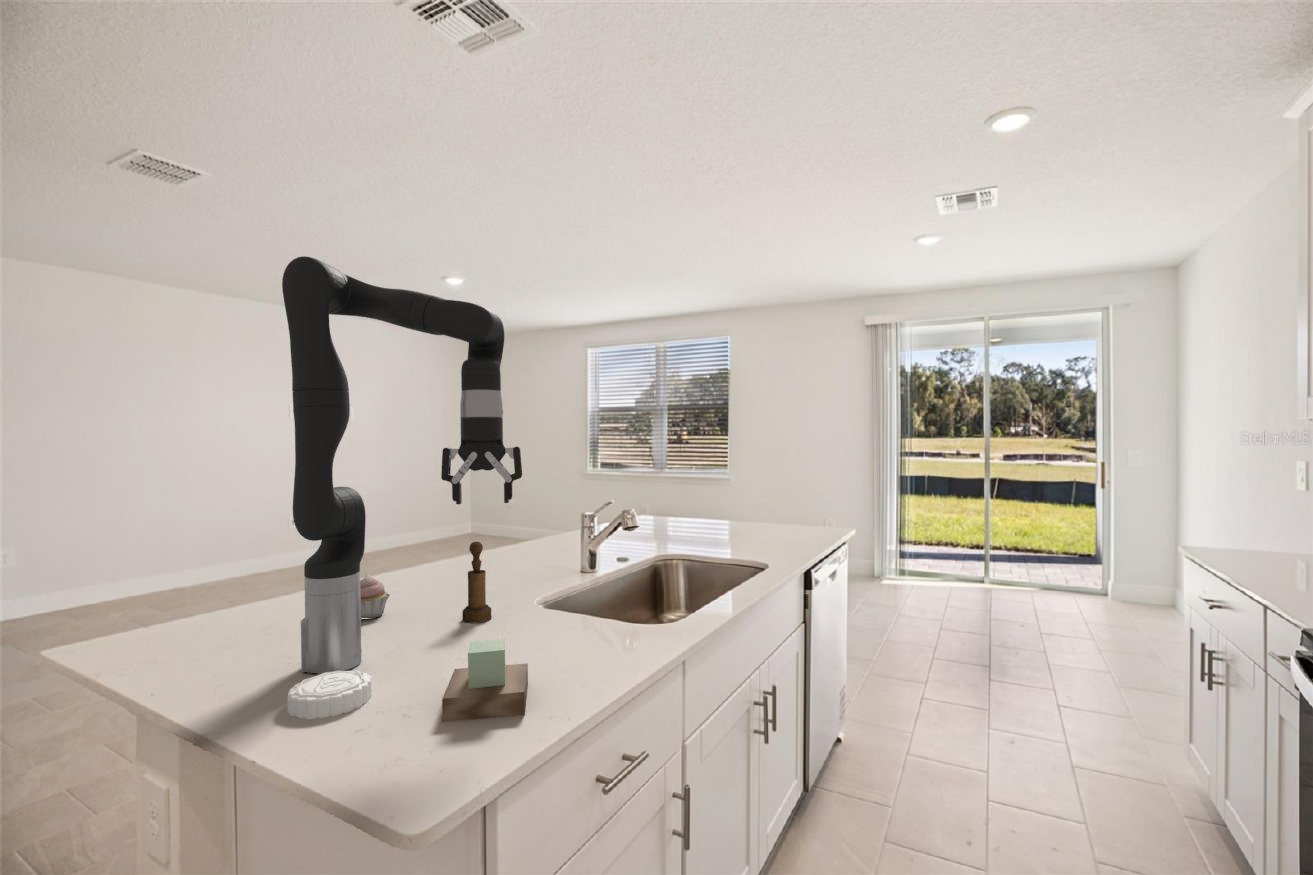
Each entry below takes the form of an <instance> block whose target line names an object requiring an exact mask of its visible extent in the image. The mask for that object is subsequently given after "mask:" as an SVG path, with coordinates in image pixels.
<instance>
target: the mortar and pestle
mask: <svg viewBox="0 0 1313 875" xmlns="http://www.w3.org/2000/svg"><path fill="white" fill-rule="evenodd" d="M483 547H484V546H483V544H482V543H481V542H480V541H473V542H471V543H470V544H469V548H468V549H469V552H470V554H471V555H472V561H471V563H470V564H471V566H472V569H473V570H472V569H471V570H469V571H467V598H468V599H467V605H466V606H465V607H464V609H463V610H462V613H461V614H462V616H461V617H462V618H461V619H462V622H465V623H469V624H473V623H474V624H476V623H477V624H478V623H479V624H480V623H483V622H487V621H488V622H489V621H490V620H492V617H493V616H492V607H491V606H489V605H488V604H487V602H486V600H487V598H486V593H487V592H486V591H487V590H486V577H487V576H486V570H484V569H481V567H482V562H483V561H482V560H481V559H480V557H481V556H480V555H481V554H482V553H483V549H484V548H483Z"/></svg>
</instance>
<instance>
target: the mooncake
mask: <svg viewBox="0 0 1313 875" xmlns="http://www.w3.org/2000/svg"><path fill="white" fill-rule="evenodd" d="M372 690H373V689H372V676H371V675H369V674H368V673H366V672H362V671H359V670H345V671H338V670H337V671H334V672H325V673H323V674H317V675H315V676H312V677H308V678H305V679H302V681H300V682H298V683H296V684H294V685H293V686H292V687H291V688H290V689H289V690H288V694H287V713H288V714H290V716H291V717H296V718H297V719H307V720H314V719H326V718H328V717H336V716H340V715H342V714H346V713H347V714H348V713H349V712H352V711H353V710H355V709H359V708H361V707H362V706H363V705H365V704H367V703H368V702H369V700H370V699H371V698H372V696H373V694H372Z"/></svg>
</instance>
